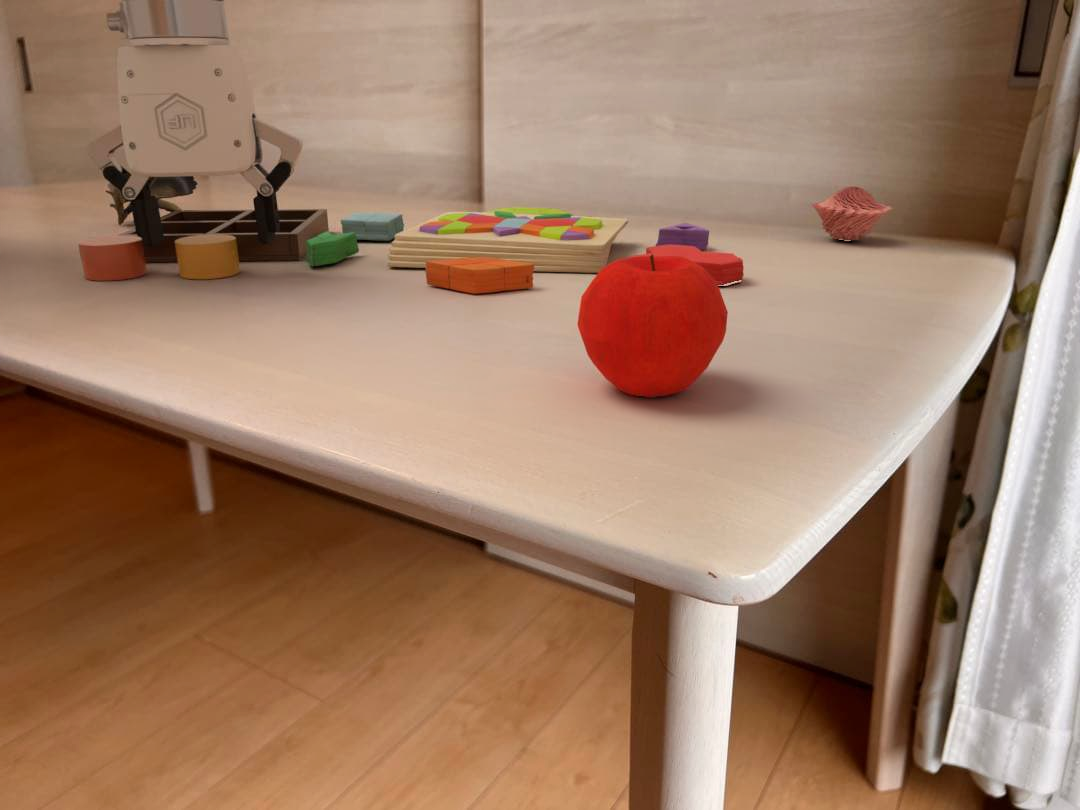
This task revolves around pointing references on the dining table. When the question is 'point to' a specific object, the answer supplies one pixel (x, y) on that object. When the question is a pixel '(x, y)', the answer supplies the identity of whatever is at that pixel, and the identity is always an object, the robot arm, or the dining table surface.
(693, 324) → the apple
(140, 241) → the cylinder
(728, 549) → the dining table surface
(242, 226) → the grid
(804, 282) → the dining table surface
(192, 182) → the bracket fungus on branch
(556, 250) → the pattern blocks set
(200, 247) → the mustard yellow cylinder
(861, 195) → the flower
